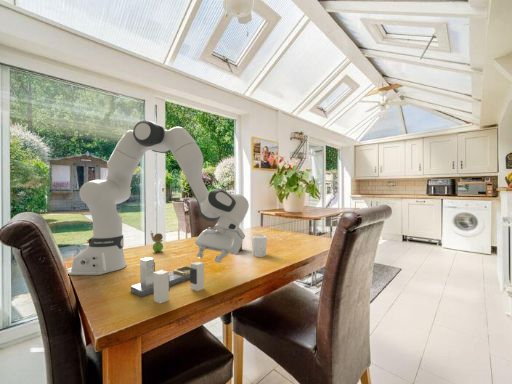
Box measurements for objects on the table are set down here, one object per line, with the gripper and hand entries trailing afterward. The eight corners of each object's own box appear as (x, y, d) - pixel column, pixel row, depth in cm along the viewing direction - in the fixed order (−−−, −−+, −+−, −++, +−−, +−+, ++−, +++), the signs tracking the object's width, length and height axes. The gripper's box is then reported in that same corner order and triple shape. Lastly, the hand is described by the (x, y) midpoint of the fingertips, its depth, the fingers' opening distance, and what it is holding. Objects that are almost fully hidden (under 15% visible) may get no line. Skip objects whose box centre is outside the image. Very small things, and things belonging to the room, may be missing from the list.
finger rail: (141, 297, 79) (141, 263, 79) (130, 291, 83) (130, 259, 83) (202, 274, 100) (202, 247, 100) (191, 270, 104) (191, 245, 104)
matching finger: (196, 291, 83) (196, 265, 83) (189, 289, 85) (189, 263, 85) (203, 288, 86) (203, 263, 86) (197, 286, 88) (197, 261, 88)
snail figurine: (151, 251, 137) (150, 230, 137) (163, 250, 139) (163, 229, 139) (150, 253, 132) (150, 231, 131) (163, 252, 134) (162, 230, 134)
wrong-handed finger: (160, 303, 75) (160, 274, 74) (153, 300, 77) (153, 272, 76) (170, 299, 77) (170, 271, 77) (163, 296, 79) (163, 269, 79)
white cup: (258, 252, 133) (258, 234, 133) (270, 255, 128) (270, 236, 128) (249, 255, 127) (248, 236, 127) (260, 258, 122) (260, 238, 122)
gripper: (203, 222, 102) (184, 250, 94) (241, 226, 90) (223, 259, 82) (211, 231, 105) (193, 259, 97) (248, 236, 93) (232, 269, 86)
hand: (207, 259), depth 90 cm, fingers open, 8 cm apart
